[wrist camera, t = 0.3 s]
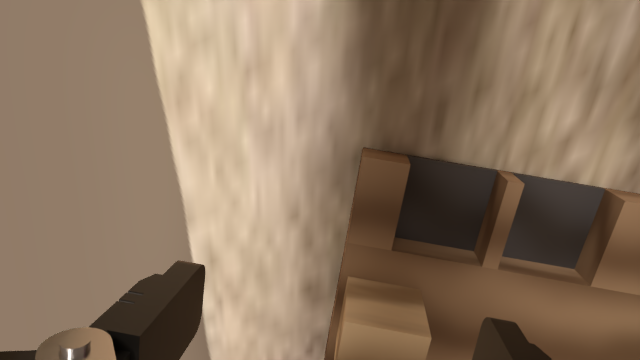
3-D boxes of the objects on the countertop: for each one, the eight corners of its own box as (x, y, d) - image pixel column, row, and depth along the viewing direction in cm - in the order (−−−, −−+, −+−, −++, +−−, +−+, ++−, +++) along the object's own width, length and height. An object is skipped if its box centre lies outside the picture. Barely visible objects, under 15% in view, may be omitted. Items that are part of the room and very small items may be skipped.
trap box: (362, 147, 28) (362, 178, 22) (712, 206, 27) (824, 257, 21) (325, 350, 34) (315, 424, 27) (616, 406, 33) (680, 498, 26)
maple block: (347, 276, 29) (344, 321, 24) (420, 289, 28) (431, 338, 24) (336, 336, 30) (331, 389, 26) (405, 349, 30) (412, 405, 25)
